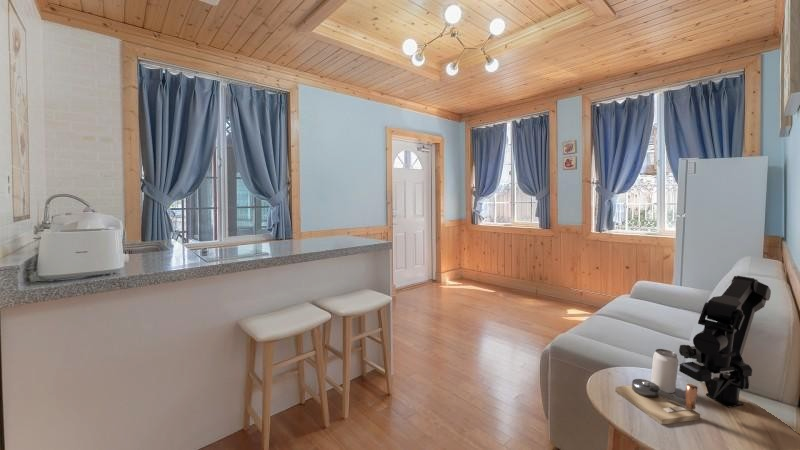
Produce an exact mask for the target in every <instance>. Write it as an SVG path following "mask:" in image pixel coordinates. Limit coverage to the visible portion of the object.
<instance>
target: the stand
mask: <svg viewBox="0 0 800 450" xmlns="http://www.w3.org/2000/svg"><path fill="white" fill-rule="evenodd" d="M614 390H615V391H614V392H615V393H617V394H618V395H619V396H621V397H622V398H623V399H625V400H627V401H628V402H629V403H631V404H632V405H633V406H635V407H636V408H637V409H639V410H640V411H642V412H643V413H645V415H647V416H648V417H650V418H652V419H653V420H654V421H655V422H657V423H658V424H660V425H669V424H675V423H676V424H677V423H683V422H690V421H696V420H697V421H698V420H700V418H701V414H700V413H699V412H698V411H696V410H695V409H689V408H687V407H685V406H684V405H681V404H679V403H677V402H674V401H672V400H669V399H667V398H664V397H662V396H659V397H656V398H650V397H645V396H642V395H640V394H638V393H636V392H635V391H634V390H633V389H632V384H630V385H621V386H615V389H614Z"/></svg>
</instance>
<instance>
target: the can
mask: <svg viewBox="0 0 800 450" xmlns="http://www.w3.org/2000/svg"><path fill="white" fill-rule="evenodd" d="M652 357H653V358H652V365H651V372H650V373H651V375H650V376H651V377H650V382H653V383H655V384H656V385H657V386H659V388H660V390H662V391H665V392H667V393H670V394H673V393H674V392H676V387H677V378H678V377H677V376H678V370H679V368H678V367H679V358H678V353H675V352H673V351H671V350H668V349H664V348H656V349H655V352H654V353H653V356H652Z"/></svg>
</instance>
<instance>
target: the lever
mask: <svg viewBox="0 0 800 450" xmlns="http://www.w3.org/2000/svg"><path fill="white" fill-rule="evenodd" d="M631 382H632V383H631V385H632V389H633V390H634V391H635V392H636V393H638V394H640V395H642V396H645V397H650V398H656V397H659V396H662V397H664V398H667V399H669V400H672V401H674V402H677V403H679V404H681V405H684V406H685V407H687V408H689V409H693V410H695V409H696V404H697V395H698V387H697V385H694V384H692V383H687V384H686V387H685V394H684V395H685V396H684V397H685V398H682V397H680V396H677V395H675V394H673V393H667V392H665V391H662V390H660V388H659V386H657V385H656V384H655V383H653V382H651V380H647V379H644V378H643V379H642V378H634V379H632V381H631Z"/></svg>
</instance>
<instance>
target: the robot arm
mask: <svg viewBox="0 0 800 450" xmlns="http://www.w3.org/2000/svg"><path fill="white" fill-rule="evenodd" d="M771 292H772V290H771V288H770V286H769V285H766V284H764V283H763V282H760V281H758V279H755V278H754V277H749V276H744V275H734V276H733V278H732V280H731V282H730V285H729V286H728V287H727V288H726V289H725V291H724V292H723V293H722V294H721V295H720V296H719V295H717V296H713V297H711V298H710V299H708V301H707V302H705V303H704V305H703V307H702V309H701V310H702V311H701V313H700V315H699V318H698V322H697V324H698V325H700V326H704V328H703V330H702V331H699V332H698V333H697V334H695V336H694V337H693V339H692V343H693V346H692V345H690V344H680V345H679V348H678V352H679V355H680V356H682V357H684V359H686V360H687V359H693V360H695V361H696V362H694V361H688V362H682V363H679V368H678V371H679V372H680V373H681V374H684V375H686V376H687V377H690V378H691V379H693V380H695V381H697V382H699V383H700V382H701V383H702V382H704V385H705V388H706V391H707V392H706V393H705V395H706V396H707V397H708V398H711V399H712V400H714V401H715V402H718V403H720V404H721V405H723V406H725V407H727V408H733V407H739V406H740V407H741V406H744V405H745V403H744V402H743V401H741V400H739V399H740V393H741V392H740V391H741V390H742V391H744V390H749V389H750V377H752V375H753V369H752V367H751V366H750V364H747V363H745V360H744V358H743V353H744V350H745V346H746V343H747V339H748V336H749V333H750V330H751V326H752V323H753V319H754V317H755V313H757V312H759V311H760V310H761V309H763V308H765V305H766V303H767V301H769V300H770V298H771ZM698 363H700V364H703V365H700V364H698Z"/></svg>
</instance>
